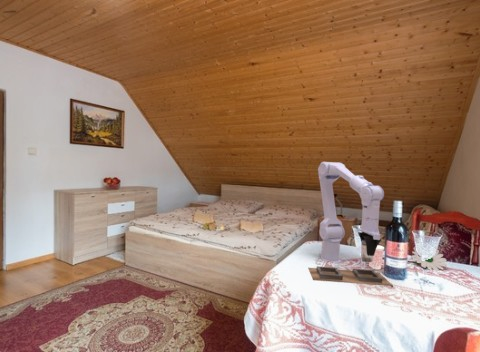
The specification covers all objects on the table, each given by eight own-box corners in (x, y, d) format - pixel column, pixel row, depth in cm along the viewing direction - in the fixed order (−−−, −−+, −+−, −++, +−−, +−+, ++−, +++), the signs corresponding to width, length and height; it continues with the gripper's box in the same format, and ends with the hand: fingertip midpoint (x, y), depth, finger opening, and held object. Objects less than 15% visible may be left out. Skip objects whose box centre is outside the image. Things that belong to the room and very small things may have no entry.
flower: (368, 242, 132) (441, 243, 123) (368, 250, 135) (440, 251, 125) (372, 265, 122) (453, 268, 112) (372, 273, 125) (450, 276, 115)
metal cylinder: (359, 258, 106) (359, 239, 106) (370, 258, 106) (370, 239, 105) (363, 261, 102) (363, 242, 102) (374, 262, 102) (374, 242, 101)
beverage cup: (372, 263, 121) (374, 232, 120) (385, 268, 116) (388, 235, 115) (363, 266, 117) (365, 233, 117) (377, 271, 112) (379, 237, 112)
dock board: (307, 268, 112) (308, 264, 112) (379, 273, 110) (379, 268, 110) (313, 281, 100) (313, 276, 100) (393, 287, 98) (393, 281, 98)
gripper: (353, 213, 111) (351, 246, 111) (366, 221, 96) (364, 259, 97) (371, 214, 110) (369, 248, 111) (387, 222, 96) (384, 260, 96)
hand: (368, 253), depth 104 cm, fingers closed on metal cylinder, 4 cm apart
